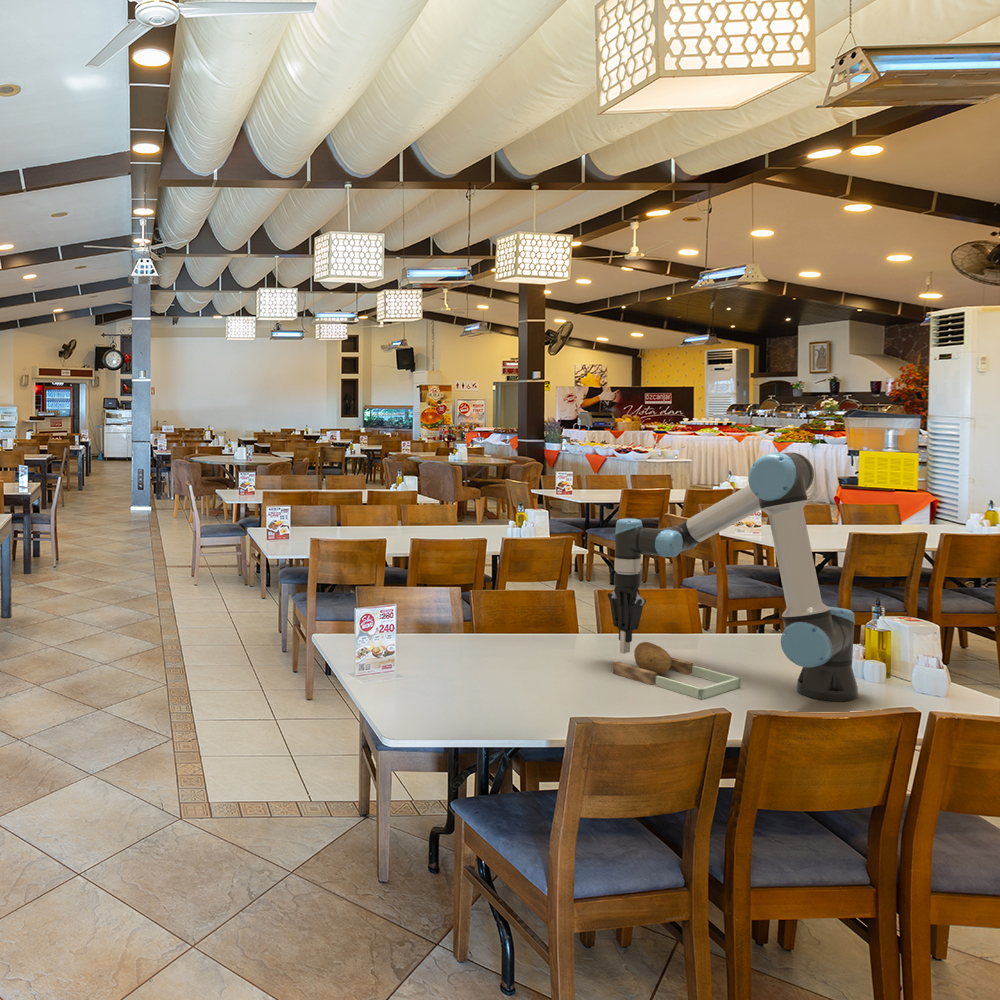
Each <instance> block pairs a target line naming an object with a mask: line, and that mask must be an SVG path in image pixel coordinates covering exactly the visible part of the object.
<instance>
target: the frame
mask: <svg viewBox="0 0 1000 1000" xmlns="http://www.w3.org/2000/svg"><path fill="white" fill-rule="evenodd" d="M691 675H692V676H694V677H697V678H701V679H704V680H708V681H712V682H716V683H714V684H710V685H707V686H704V687H698V686H694V685H691V684H688V683H685V682H681V681H678V680H674V679H671V678H668V677H664V676H661V675H657V676H656V684H655V686H656V687H660V688H662V689H663V688H664V689H667V690H669V691H672V692H676V693H679V694H683V695H686V696H689V697H692V698H696V699H699V700H705V699H707V698H711V697H714V696H716V695H717V696H718V695H720V694H723V693H727V692H729V691H733V690H736V689H739V687H740V688H741V677H738V676H733V675H730V674H726V673H723V672H719V671H716V670H712V669H707V668H704V667H701V666H700V667H699V666H697V665H693V668H692V674H691Z"/></svg>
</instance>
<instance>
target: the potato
mask: <svg viewBox="0 0 1000 1000" xmlns="http://www.w3.org/2000/svg"><path fill="white" fill-rule="evenodd" d="M633 653H634V659H635V664H636V667H639V668H642V669H646V670H649V671H653V672H656V673H657V676H661V675H662V674H664V673H667V672H668V671H670V669H669V668H670V667H671V662H672V660H671V657H672V656H671V655H670V654H669V652H668V651H667V650H666V649H664V648H663V647H661V646H659V645H656V644H654V643H652V642H648V641H642V642H640V643H638V644H637V645H636V646H635V649H634V651H633Z"/></svg>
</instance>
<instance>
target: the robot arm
mask: <svg viewBox="0 0 1000 1000" xmlns="http://www.w3.org/2000/svg"><path fill="white" fill-rule="evenodd" d="M814 471H815V470H814V467H813V464H812V463H811V462H810V460H809V459H808V458H807V457H805V456H804V455H802V453H797V452H771V453H768V454H765V455H763V456H761V457H758V458H757V459H756V460H755V461H754V462H753V463H752V465H751V467H750V468H749V471H748V478H747V479H748V485H746V486H743V488H741V489H738V490H737V491H735V492H733V493H732V494H730V495H728V496H726V497H725V498H723V499H721V500H720V501H718V502H716V503H714V504H712V505H711V506H709V507H707V508H705V509H704V510H702V511H700V512H698V513H696V514H695V515H692V516H691V517H690V518H687V519H686V520H684V521H681V522H680V523H679V524H676V525H675V526H669V527H663V528H651V527H650V528H649V527H643V521H642V520H641V519H638V518H620V519H618V520H617V521H616V523H615V533H614V537H615V538H614V539H615V541H614V544H615V545H614V565H613V567H614V568H613V569H614V573H613V584H614V590H613V591H612V592H609V593H607V597H608V599H609V604H610V611H611V618H612V625H613V626H614V627H616V628H617V629H618V640H619V641H620V642H619V653H621V654H628V653H631V643H632V641H633V631H636V630H639V626H640V621H641V617H642V612H643V609H644V606H645V604H646V603H647V599H646V598H642V597H641V595H640V589H639V587H640V585H641V573H640V572H641V565H642V564H641V561H642V555H650V556H657V557H663V558H675V557H677V556H678V555H679V554H681V553H682V552H686V551H687V552H688V551H689V550H692V549H694V548H696V547H697V545H698V544H699V543H701V542H703V541H705V540H706V539H709V538H711V537H713V536H715V535H716V534H718V533H720V532H721V531H724V530H726V529H728V528H729V527H731V526H733V525H735V524H736V523H739V522H741V521H743V520H744V519H747V518H748V517H750V516H752V515H754V514H756V513H758V512H759V511H762V512H764V513H765V514H766V515H767V516H768V521H769V525H770V530H771V535H772V540H773V544H774V550H775V555H776V560H777V565H778V571H779V574H780V575H779V576H780V579H781V586H782V589H783V590H782V591H783V594H784V595H783V596H784V601H785V604H786V608H785V610H784V611H783V612H782V614H781V617H782V623H783V628H784V630H783V631H782V633H781V637H780V646H781V649H782V652H783V654H784V655H785V656H786V658H787V659H788V660H789V661H790V662H792V663H793V664H795V665H796V666H798V667H802V669H801V670H800V674H799V676H798V678H797V680H796V681H797V682H796V691H797V692H798V693H800V694H801V695H803V696H806V697H809V698H813V699H816V700H821V701H828V702H830V701H831V702H848V701H853V700H856V699H857V698H858V695H859V687H858V684H857V681H856V677H855V673H854V670H853V654H854V653H853V652H854V651H853V650H854V637H855V636H854V635H855V625H856V621H855V613H854V611H853V610H850V609H847V608H842V607H835V606H829V605H826V604H825V603H824V602H823V599H822V596H821V595H822V594H821V590H820V586H819V581H818V577H817V576H818V575H817V571H816V566H815V562H814V556H813V553H812V552H813V551H812V547H811V542H810V537H809V532H808V528H807V522H806V517H805V512H804V507H805V506H806V505H807V503H808V502H809V500H808V499H809V498H808V494H807V491H808V490H809V489H810V488H811V486H812V484H813V482H814V480H815V479H814V478H815V472H814Z"/></svg>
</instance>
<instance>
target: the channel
mask: <svg viewBox="0 0 1000 1000" xmlns="http://www.w3.org/2000/svg"><path fill="white" fill-rule="evenodd" d="M670 657H671V660H672V662H671V667H670V668H669V671H670V670H671V671H673V672H677V673H681V674H684V675H689V676H690V675H692V668H693V666H694V663H693V662H690V661H686V660H683V659H679V658H677V657H676V658H674V657H672V656H670ZM612 673H613V674H615V675H619V676H621V677H625V678H628V679H631V680H633V681H638V682H641V683H644V684H647V685H651V686H652V685H656V676H658V674H657V673H656V672H653V671H649V670H646V669H642V668H639V667H638V666H635V665H631V664H628V663H625V662H622V661H615V662H613V663H612Z"/></svg>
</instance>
